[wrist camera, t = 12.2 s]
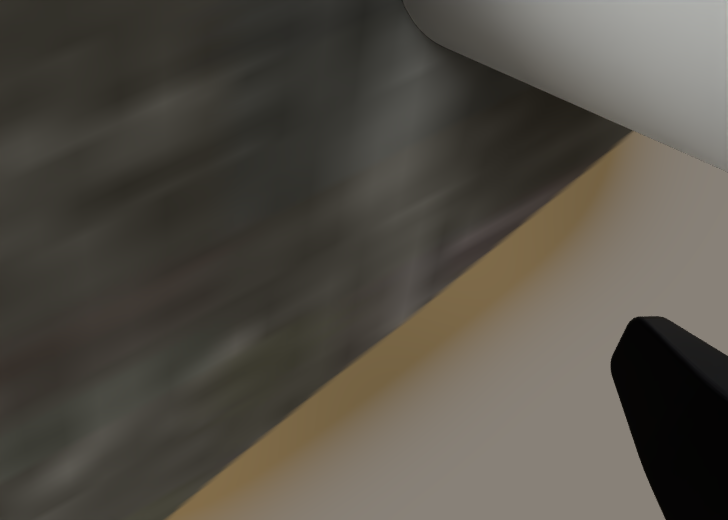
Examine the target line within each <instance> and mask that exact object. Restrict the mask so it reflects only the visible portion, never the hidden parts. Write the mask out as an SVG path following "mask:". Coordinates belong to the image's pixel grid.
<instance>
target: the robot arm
mask: <svg viewBox="0 0 728 520" xmlns="http://www.w3.org/2000/svg"><path fill="white" fill-rule="evenodd" d="M611 373H612V377H613V380H614V383H615V386H616V389H617V392H618V395H619V398H620V401H621V404H622V407H623V410H624V413H625V416H626V419H627V422H628V425H629V428H630V431H631V434H632V437H633V440H634V443H635V446H636V449H637V452H638V455H639V458H640V460H641V463H642V466H643V469H644V471H645V473H646V476H647V478H648V481H649V483H650V486H651V488H652V490H653V492H654V495H655V497H656V499H657V501H658V504H659V506H660V508H661V510H662V512H663V515H664V517H665V519H666V520H728V356H727V355H725V354H723V353H722V352H720V351H718V350H717V349H715V348H714V347H712V346H710V345H709V344H707V343H706V342H704V341H702V340H701V339H699V338H697V337H696V336H694V335H692V334H691V333H689V332H688V331H686V330H684V329H683V328H681V327H680V326H678V325H676V324H674V323H673V322H671V321H670V320H668V319H666V318H664V317H659V316H649V317H636V318H633V319H632V320H631V321H630V322H629V323H628V325H627V327H626V329H625V331H624V333H623V335H622V337H621V339H620V342H619V343H618V346H617V347H616V350H615V351H614V353H613V356H612V359H611Z"/></svg>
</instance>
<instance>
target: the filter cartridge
mask: <svg viewBox="0 0 728 520" xmlns="http://www.w3.org/2000/svg"><path fill="white" fill-rule="evenodd" d="M402 1H403V3H404V6H405V8H406V10H407V12H408V14H409V15H410V17H411V19H412V20H413V21H414V23H415V24H416V25H417V27H418V28H419V29H420V30H421V31H422V32H423V33H424V34H425V35H426V36H427V37H428V38H430V39H431V40H433V41H434V42H435V43H437V44H439V45H441V46H443V47H445V48H447V49H450V50H452V51H454V52H456V53H459V54H461V55H463V56H465V57H468V58H470V59H472V60H474V61H477V62H479V63H481V64H484V65H486V66H488V67H490V68H493V69H495V70H497V71H499V72H502V73H504V74H506V75H508V76H511V77H513V78H515V79H518V80H520V81H522V82H524V83H527V84H529V85H531V86H533V87H536V88H538V89H540V90H542V91H545V92H547V93H549V94H552V95H554V96H556V97H558V98H561V99H563V100H565V101H567V102H570V103H572V104H574V105H576V106H579V107H581V108H583V109H586V110H588V111H590V112H592V113H595V114H597V115H599V116H601V117H604V118H606V119H608V120H610V121H613V122H615V123H617V124H620V125H622V126H624V127H626V128H629V129H631V130H633V131H635V132H638V133H640V134H642V135H644V136H647V137H649V138H651V139H654V140H656V141H658V142H660V143H663V144H665V145H667V146H669V147H672V148H674V149H676V150H679V151H681V152H683V153H685V154H688V155H690V156H692V157H695V158H697V159H699V160H701V161H703V162H706V163H708V164H710V165H712V166H715V167H717V168H719V169H722V170H724V171H726V172H728V0H402Z"/></svg>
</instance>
